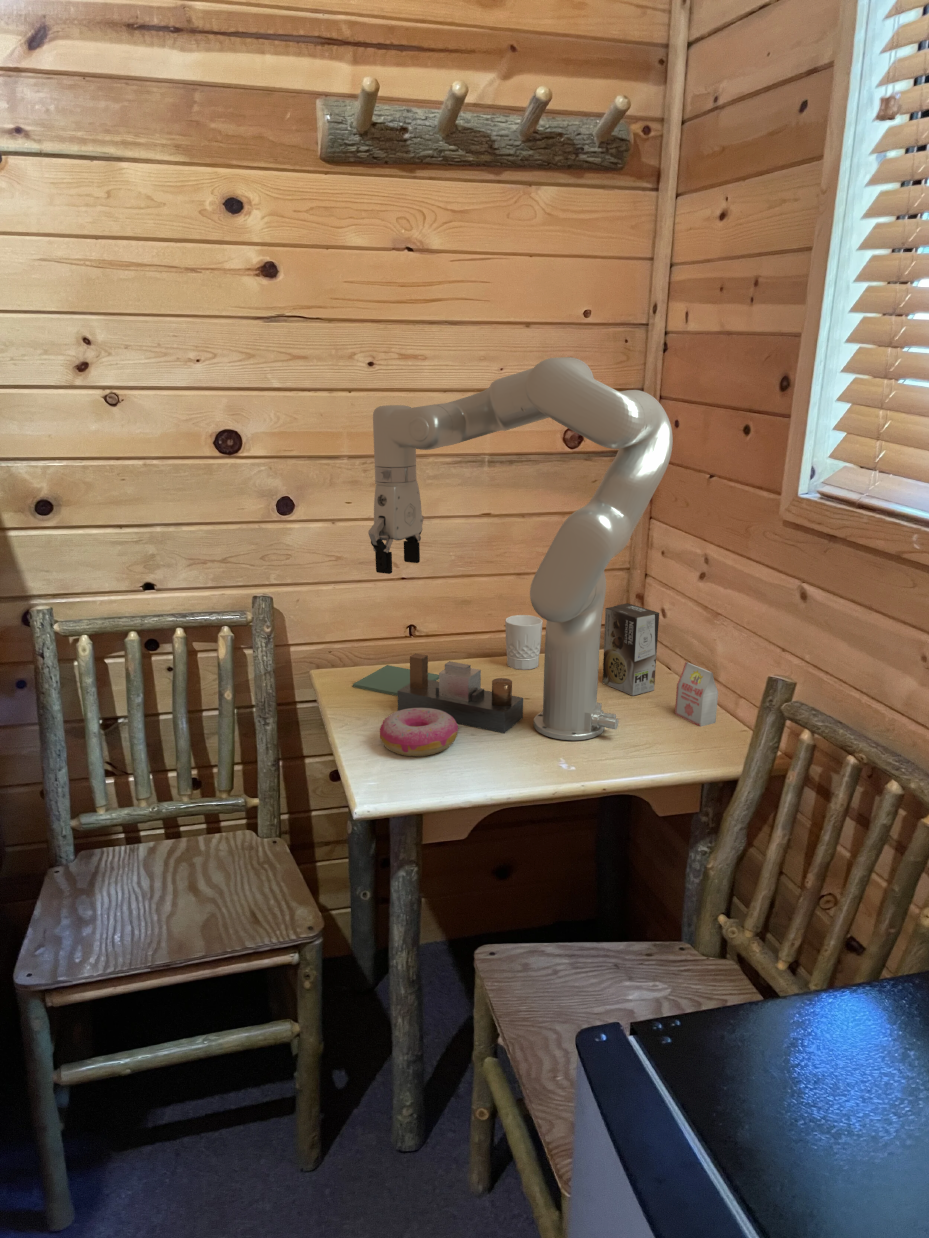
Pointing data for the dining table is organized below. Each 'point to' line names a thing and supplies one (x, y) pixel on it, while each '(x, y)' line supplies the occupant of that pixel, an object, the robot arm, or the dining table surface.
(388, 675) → the rubber mat
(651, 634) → the coffee box
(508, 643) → the white cup
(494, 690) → the plane body
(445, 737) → the donut
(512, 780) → the dining table surface
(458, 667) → the lever cap
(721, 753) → the dining table surface
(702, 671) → the white gable carton
